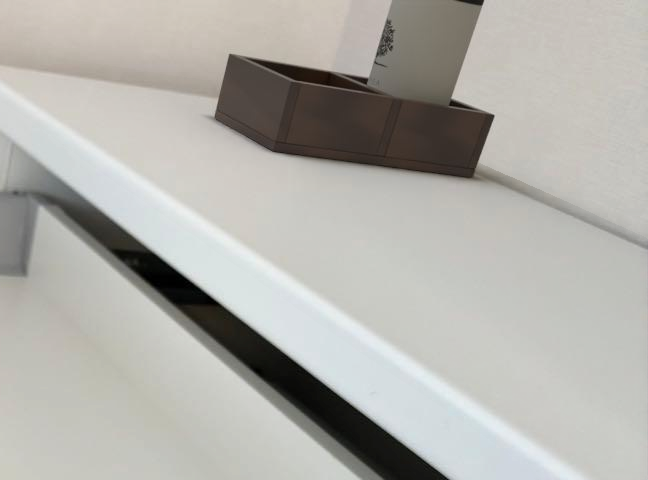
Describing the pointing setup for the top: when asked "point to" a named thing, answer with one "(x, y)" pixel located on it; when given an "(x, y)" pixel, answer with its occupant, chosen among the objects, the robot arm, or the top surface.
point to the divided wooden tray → (348, 118)
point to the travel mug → (424, 48)
